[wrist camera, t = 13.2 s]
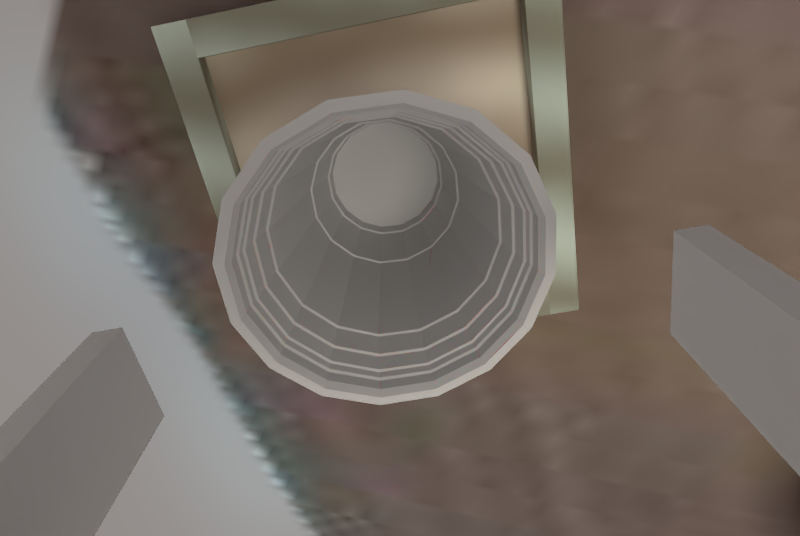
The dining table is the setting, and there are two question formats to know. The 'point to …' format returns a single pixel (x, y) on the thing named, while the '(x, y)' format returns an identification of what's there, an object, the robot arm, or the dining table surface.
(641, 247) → the dining table surface
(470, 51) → the stand
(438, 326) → the plastic cup
